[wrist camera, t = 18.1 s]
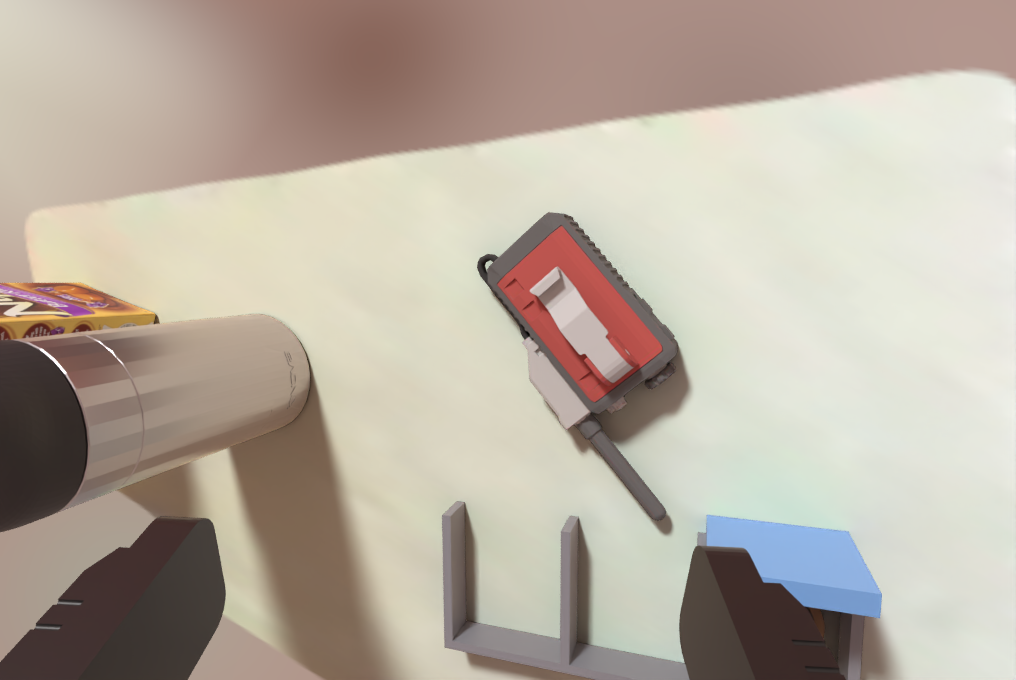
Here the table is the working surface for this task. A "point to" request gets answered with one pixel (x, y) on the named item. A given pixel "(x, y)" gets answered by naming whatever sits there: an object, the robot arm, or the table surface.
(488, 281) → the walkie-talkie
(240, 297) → the table surface
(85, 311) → the candy box
